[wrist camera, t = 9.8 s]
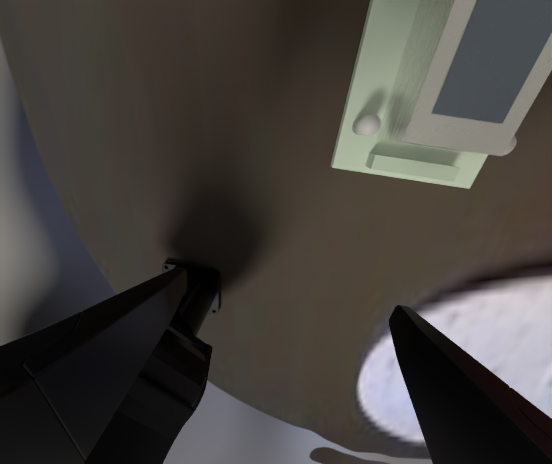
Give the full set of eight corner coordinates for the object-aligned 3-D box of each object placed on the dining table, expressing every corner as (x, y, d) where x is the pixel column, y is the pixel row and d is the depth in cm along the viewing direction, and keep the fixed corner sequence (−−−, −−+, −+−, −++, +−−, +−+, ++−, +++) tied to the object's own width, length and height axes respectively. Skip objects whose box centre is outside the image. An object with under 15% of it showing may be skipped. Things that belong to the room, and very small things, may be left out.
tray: (460, 185, 18) (495, 197, 15) (330, 165, 18) (337, 173, 15) (592, -66, 12) (703, -139, 8) (392, -92, 12) (426, -172, 9)
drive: (449, 149, 16) (503, 156, 12) (376, 138, 16) (403, 141, 12) (528, -21, 12) (653, -102, 8) (430, -34, 12) (500, -121, 8)
